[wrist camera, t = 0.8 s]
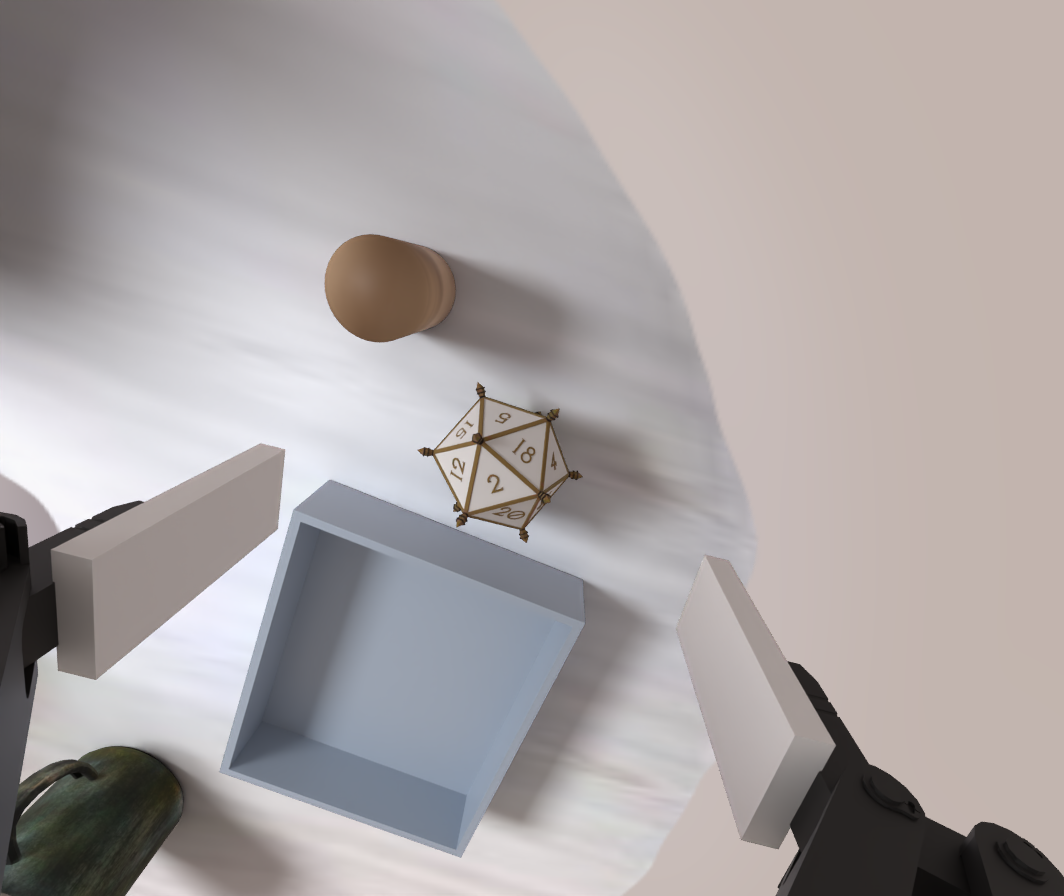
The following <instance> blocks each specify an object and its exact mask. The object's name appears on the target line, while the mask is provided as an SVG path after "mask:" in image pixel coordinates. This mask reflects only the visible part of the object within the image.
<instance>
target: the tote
mask: <svg viewBox="0 0 1064 896" xmlns="http://www.w3.org/2000/svg"><path fill="white" fill-rule="evenodd" d="M584 625H585V609H584V592H583V580H582V579H580V578H577V577H575V576H572V575H570V574H567V573H565V572H562V571H560V570H557V569H554V568H552V567H549V566H547V565H544V564H542V563H539V562H537V561H534V560H532V559H529V558H527V557H524V556H522V555H519V554H516V553H514V552H511V551H509V550H506V549H504V548H501V547H499V546H496V545H494V544H491V543H489V542H486V541H484V540H481V539H479V538H476V537H473V536H471V535H468V534H466V533H463V532H461V531H458V530H456V529H453V528H451V527H448V526H446V525H443V524H441V523H438V522H435V521H433V520H430V519H428V518H425V517H423V516H420V515H418V514H415V513H413V512H410V511H408V510H405V509H403V508H400V507H397V506H395V505H392V504H390V503H387V502H385V501H382V500H380V499H377V498H375V497H372V496H370V495H367V494H365V493H362V492H360V491H357V490H354V489H352V488H349V487H347V486H344V485H342V484H339V483H337V482H334V481H332V480H329V481H327V482H326V483H325V484H324V485H323V486H321V487H320V488H319V489H318V490H317V491H315V492H314V493H313V494H312V495H311V496H309V497H308V498H307V499H306V500H305V501H303V502H302V503H301V504H300V505H299V506H297V507H296V508H295V509H294V510H293V514H292V517H291V521H290V524H289V528H288V531H287V535H286V538H285V542H284V545H283V549H282V552H281V556H280V560H279V563H278V567H277V570H276V574H275V577H274V581H273V584H272V588H271V591H270V595H269V598H268V602H267V605H266V609H265V612H264V616H263V620H262V623H261V627H260V630H259V634H258V637H257V641H256V644H255V648H254V651H253V655H252V658H251V662H250V665H249V669H248V673H247V676H246V680H245V683H244V687H243V690H242V694H241V697H240V701H239V704H238V708H237V711H236V715H235V718H234V722H233V726H232V729H231V733H230V736H229V740H228V743H227V747H226V750H225V754H224V757H223V761H222V764H221V768H220V771H219V772H220V773H223V774H226V775H229V776H232V777H234V778H237V779H240V780H243V781H246V782H249V783H251V784H254V785H257V786H260V787H263V788H265V789H268V790H271V791H274V792H277V793H280V794H282V795H285V796H288V797H291V798H294V799H297V800H299V801H302V802H305V803H308V804H311V805H314V806H316V807H319V808H322V809H325V810H328V811H330V812H333V813H336V814H339V815H342V816H345V817H347V818H350V819H353V820H356V821H359V822H362V823H364V824H367V825H370V826H373V827H376V828H379V829H381V830H384V831H387V832H390V833H393V834H395V835H398V836H401V837H404V838H407V839H410V840H412V841H415V842H418V843H421V844H424V845H427V846H429V847H432V848H435V849H438V850H441V851H444V852H446V853H449V854H452V855H455V856H458V857H460V858H461V857H462V855H463V853H464V851H465V849H466V847H467V845H468V843H469V841H470V840H471V838H472V836H473V834H474V832H475V830H476V828H477V826H478V825H479V823H480V821H481V819H482V817H483V815H484V813H485V811H486V809H487V808H488V806H489V804H490V802H491V800H492V798H493V796H494V794H495V792H496V791H497V789H498V787H499V785H500V783H501V781H502V779H503V777H504V776H505V774H506V772H507V770H508V768H509V766H510V764H511V762H512V760H513V759H514V757H515V755H516V753H517V751H518V749H519V747H520V745H521V744H522V742H523V740H524V738H525V736H526V734H527V732H528V730H529V728H530V727H531V725H532V723H533V721H534V719H535V717H536V715H537V713H538V711H539V710H540V708H541V706H542V704H543V702H544V700H545V698H546V696H547V695H548V693H549V691H550V689H551V687H552V685H553V683H554V681H555V679H556V678H557V676H558V674H559V672H560V670H561V668H562V666H563V664H564V662H565V661H566V659H567V657H568V655H569V653H570V651H571V649H572V647H573V646H574V644H575V642H576V640H577V638H578V636H579V634H580V632H581V630H582V629H583V627H584Z"/></svg>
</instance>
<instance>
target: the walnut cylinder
mask: <svg viewBox="0 0 1064 896" xmlns="http://www.w3.org/2000/svg"><path fill="white" fill-rule="evenodd" d="M455 290H456V288H455V281H454V277H453V274H452V271H451V270H450V268H449V266H448V264H447V263H446V262H445V260H444V259H443V258H442V257H441V256H440V255H439V254H437V253H436V252H435V251H433V250H431V249H429V248H427V247H424V246H420V245H416V244H412V243H409V242H405V241H401V240H397V239H393V238H389V237H385V236H380V235H372V234H369V235H361V236H357V237H354V238H352V239H350V240H348V241H346V242H345V243H344V244H342V245H341V246H340V247H339V248H338V249H337V250H336V251H335V253H334V254H333V256H332V257H331V259H330V261H329V263H328V266H327V269H326V274H325V292H326V298H327V301H328V304H329V306H330V309H331V311H332V312H333V314H334V316H335V317H336V319H337V320H338V321H339V323H340V324H341V325H342V326H343V327H344V328H345V329H347V330H348V331H349V332H350V333H352V334H354V335H355V336H357V337H359V338H361V339H364V340H367V341H372V342H388V341H393V340H396V339H399V338H402V337H405V336H408V335H411V334H414V333H417V332H420V331H423V330H426V329H429V328H431V327H434V326H436V325H438V324H439V323H440V322H442V321H443V320H444V319H445V318H446V317H447V315H448V314H449V312H450V311H451V309H452V306H453V304H454V300H455Z"/></svg>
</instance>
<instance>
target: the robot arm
mask: <svg viewBox="0 0 1064 896" xmlns="http://www.w3.org/2000/svg"><path fill="white" fill-rule="evenodd" d="M284 457H285V449H281V448H277V447H273V446H269V445H265V444H261V443H260V444H258V445H256V446H254V447H252V448H250V449H249V450H247V451H245V452H243V453H241V454H239V455H237V456H235V457H233V458H231V459H229V460H227V461H225V462H223V463H221V464H219V465H217V466H215V467H213V468H211V469H209V470H207V471H205V472H203V473H201V474H199V475H197V476H195V477H193V478H191V479H189V480H187V481H185V482H183V483H181V484H179V485H177V486H175V487H174V488H172V489H170V490H168V491H166V492H164V493H162V494H160V495H158V496H156V497H154V498H152V499H150V500H148V501H146V502H142V501H135V502H131V503H127V504H123V505H119V506H115V507H112V508H110V509H108V510H106V511H104V512H102V513H100V514H97V515H95V516H93V517H92V519H87V520H85V521H83V522H81V523H79V524H77V525H75V527H74V528H72V527H70V528H68V529H66V530H64V531H62V532H60V533H58V534H56V535H54V536H52V537H50V538H48V539H46V540H44V541H42V542H40V543H37V544H35V545H33V546H31V547H29V548H28V536H27V525H26V522H25V520H24V519H23V518H21V517H19V516H17V515H14V514H8V513H3V512H0V894H1V889H2V883H3V877H4V871H5V865H6V859H7V853H8V847H9V842H10V836H11V830H12V824H13V818H14V812H15V806H16V800H17V794H18V789H19V783H20V777H21V771H22V765H23V759H24V753H25V747H26V742H27V736H28V730H29V724H30V718H31V712H32V706H33V700H34V695H35V689H36V683H37V677H38V667H37V660H38V659H39V658H40V657H42V656H43V655H45V654H46V653H48V652H49V651H50V650H52V649H53V648H55V647H56V646H57V662H58V671H62V672H66V673H70V674H74V675H78V676H82V677H86V678H90V679H94V680H96V679H98V678H99V677H100V676H101V675H102V674H104V673H105V672H106V671H107V670H108V669H110V668H111V667H112V666H113V665H114V664H116V663H117V662H118V661H119V660H120V659H122V658H123V657H124V656H125V655H127V654H128V653H129V652H130V651H131V650H133V649H134V648H135V647H136V646H137V645H139V644H140V643H141V642H142V641H143V640H145V639H146V638H147V637H148V636H149V635H151V634H152V633H153V632H154V631H155V630H157V629H158V628H159V627H160V626H161V625H163V624H164V623H165V622H166V621H168V620H169V619H170V618H171V617H172V616H174V615H175V614H176V613H177V612H178V611H180V610H181V609H182V608H183V607H184V606H186V605H187V604H188V603H189V602H190V601H192V600H193V599H194V598H195V597H196V596H198V595H199V594H200V593H201V592H202V591H204V590H205V589H206V588H207V587H209V586H210V585H211V584H212V583H213V582H215V581H216V580H217V579H218V578H219V577H221V576H222V575H223V574H224V573H225V572H227V571H228V570H229V569H230V568H231V567H233V566H234V565H235V564H236V563H237V562H239V561H240V560H241V559H242V558H243V557H245V556H246V555H247V554H248V553H249V552H251V551H252V550H253V549H254V548H256V547H257V546H258V545H259V544H260V543H262V542H263V541H264V540H265V539H266V538H268V537H269V536H270V535H271V534H272V533H274V532H275V531H276V530H277V529H278V520H279V510H280V499H281V488H282V478H283V467H284ZM676 631H677V634H678V638H679V641H680V644H681V647H682V651H683V654H684V657H685V660H686V663H687V667H688V670H689V673H690V676H691V680H692V683H693V686H694V689H695V693H696V696H697V699H698V702H699V706H700V709H701V712H702V715H703V719H704V722H705V725H706V728H707V732H708V735H709V738H710V741H711V745H712V748H713V751H714V754H715V758H716V761H717V764H718V767H719V771H720V774H721V777H722V780H723V784H724V787H725V790H726V793H727V796H728V800H729V803H730V806H731V809H732V813H733V816H734V819H735V822H736V826H737V829H738V832H739V835H740V839H741V840H743V841H747V842H751V843H755V844H759V845H763V846H767V847H771V848H775V849H779V847H780V845H781V844H782V842H783V840H784V838H785V836H786V835H787V833H788V831H789V829H790V827H791V830H792V832H793V834H794V837H795V839H796V842H797V844H798V847H799V850H798V852H797V854H796V855H795V857H794V859H793V861H792V863H791V864H790V866H789V868H788V869H787V871H786V873H785V875H784V876H783V878H782V880H781V882H780V884H779V885H778V888H779V890H778V892H777V894H776V896H1064V877H1063V875H1062V874H1061V873H1060V872H1059V870H1057V868H1056V867H1055V866H1054V865H1053V864H1052V863H1051V862H1050V861H1049V860H1048V858H1047V857H1046V856H1045V855H1044V854H1043V853H1042V852H1041V851H1039V850H1038V849H1037V848H1035V847H1034V846H1033V845H1032V844H1031V843H1029V842H1028V841H1027V840H1025V839H1023V838H1021V837H1019V836H1018V835H1017V834H1015V833H1013V832H1012V831H1010V830H1008V829H1006V828H1003V827H1001V826H999V825H996V824H994V823H988V822H980V823H978V824H977V825H975V826H974V828H973V829H972V830H971V832H970V833H969V835H968V836H967V837H965V836H963V835H961V834H959V833H957V832H955V831H953V830H951V829H949V828H947V827H945V826H943V825H941V824H939V823H937V822H935V821H933V820H931V819H929V818H927V817H925V813H924V811H923V809H922V808H921V806H920V804H919V802H918V801H917V799H916V798H915V797H914V796H913V795H912V794H911V793H910V792H909V790H908V789H907V788H906V787H905V786H904V785H902V784H901V783H900V782H899V781H897V780H896V779H895V778H894V777H892V776H891V775H890V774H888V773H886V772H884V771H883V770H881V769H879V768H877V767H876V766H872V765H870V764H869V763H868V762H867V760H866V759H865V757H864V755H863V754H862V752H861V751H860V749H859V747H858V746H857V744H856V743H855V741H854V739H853V738H852V736H851V735H850V733H849V731H848V730H847V728H846V727H845V725H844V723H843V722H842V720H841V719H840V717H837V712H836V711H835V709H834V707H833V706H832V704H831V703H830V702H828V698H827V696H826V695H825V693H824V691H823V690H822V688H821V687H820V685H819V683H818V682H817V681H816V680H815V679H814V678H813V677H812V676H811V675H810V674H809V673H808V672H807V671H806V670H805V669H804V668H803V667H802V666H801V665H800V664H797V663H793V662H789V661H787V660H786V658H785V657H784V655H783V654H782V652H781V650H780V648H779V646H778V645H777V643H776V641H775V640H774V638H773V636H772V634H771V632H770V631H769V629H768V627H767V626H766V624H765V622H764V620H763V619H762V617H761V615H760V614H759V612H758V610H757V608H756V607H755V605H754V603H753V601H752V600H751V598H750V596H749V594H748V593H747V591H746V589H745V588H744V586H743V584H742V582H741V581H740V579H739V577H738V575H737V574H736V572H735V570H734V569H733V567H732V565H731V563H730V562H729V561H728V560H724V559H720V558H716V557H712V556H708V555H704V558H703V560H702V563H701V565H700V568H699V570H698V573H697V575H696V578H695V581H694V583H693V586H692V588H691V591H690V593H689V596H688V599H687V601H686V604H685V606H684V609H683V611H682V614H681V616H680V619H679V622H678V624H677V627H676Z"/></svg>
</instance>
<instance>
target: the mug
mask: <svg viewBox="0 0 1064 896" xmlns="http://www.w3.org/2000/svg"><path fill="white" fill-rule="evenodd" d="M57 780H58V781H57ZM54 782H55V783H54ZM53 783H54V784H53ZM52 784H53V785H52ZM50 785H52V786H51V787H50V788H49V789H48V790H47V791H46V792H45V793H44V794H43V795H42V796H41V797H40V798H39V799H38V800H37V801H36V802H35V803H34V804H33V805H32V806H31V807H30V808H29V809H28V810H27V811H26V812H25V813H24V814H23V815H22V813H23V811H24V809H25V808H26V807H27V806H28V805H29V804H30V803H31V802H32V801H33V800H34V799H35V798H36V797H37V795H38V794H40V793H41V792H42V791H44V790H45V789H46V788H48V787H49V786H50ZM182 808H183V795H182V790H181V788H180V785H179V783H178V781H177V780H176V778H175V777H174V776H173V774H172V773H171V772H170V771H169V770H168V769H167V768H166V767H165V766H164V765H163V764H162V763H160V762H159V761H158V760H156V759H155V758H153V757H151V756H149V755H147V754H145V753H143V752H141V751H138V750H135V749H131V748H127V747H105V748H101V749H98V750H95V751H92V752H89V753H88V754H86V755H84V756H82V757H81V758H80V759H79V760H78V761H77V760H62V761H59V762H55V763H52V764H50V765H48V766H46V767H44V768H43V769H41V770H39V771H37V772H36V773H34V774H32V775H31V776H30V777H28V778H27V779H26V780H25V781H23V782H22V783H21V784H19V789H18V794H17V800H16V806H15V812H14V818H13V824H12V830H11V836H10V842H9V847H8V853H7V859H6V865H5V871H4V877H3V883H2V889H1V894H0V896H125V895H126V894H127V892H128V891H129V890H130V888H131V887H132V885H133V884H134V883H135V881H136V880H137V878H138V877H139V876H140V874H141V873H142V871H143V870H144V869H145V867H146V866H147V864H148V863H149V862H150V860H151V859H152V858H153V856H154V855H155V853H156V852H157V851H158V849H159V848H160V846H161V845H162V844H163V842H164V841H165V839H166V838H167V837H168V835H169V834H170V832H171V831H172V830H173V828H174V827H175V826H176V824H177V823H178V821H179V819H180V817H181V813H182ZM21 815H22V816H21Z"/></svg>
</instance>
